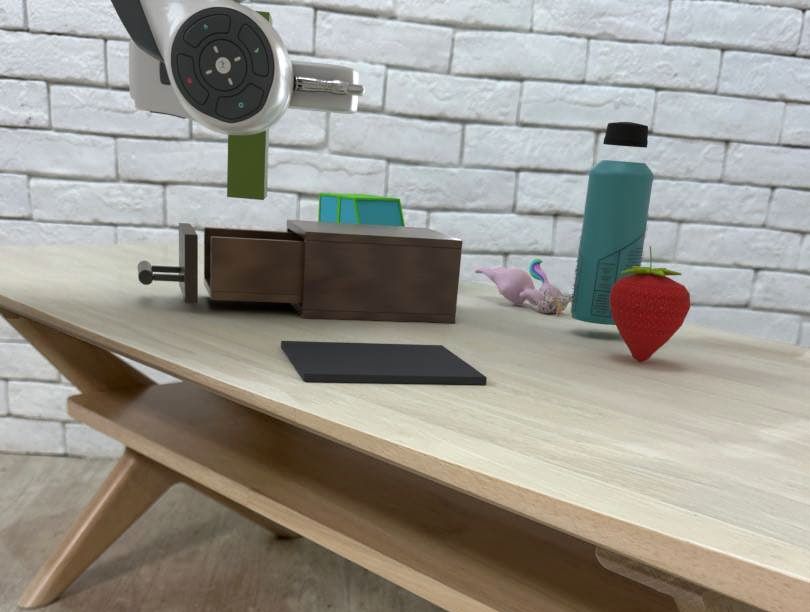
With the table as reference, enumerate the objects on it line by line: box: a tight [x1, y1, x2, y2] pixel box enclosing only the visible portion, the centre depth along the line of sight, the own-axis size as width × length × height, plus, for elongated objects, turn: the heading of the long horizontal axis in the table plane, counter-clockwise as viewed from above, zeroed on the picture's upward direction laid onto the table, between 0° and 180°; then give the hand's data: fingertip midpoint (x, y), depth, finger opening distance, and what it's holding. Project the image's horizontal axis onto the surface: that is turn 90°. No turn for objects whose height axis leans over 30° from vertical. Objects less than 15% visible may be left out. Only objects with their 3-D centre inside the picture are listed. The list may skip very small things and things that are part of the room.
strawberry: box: [609, 245, 691, 362], centre depth 87 cm, size 6×8×10 cm
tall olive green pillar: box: [226, 10, 274, 201], centre depth 95 cm, size 4×6×16 cm, turn 5°
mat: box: [280, 340, 488, 386], centre depth 79 cm, size 14×12×1 cm
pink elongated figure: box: [474, 258, 573, 317], centre depth 115 cm, size 6×6×15 cm
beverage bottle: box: [569, 121, 655, 326], centre depth 98 cm, size 6×7×20 cm
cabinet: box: [285, 219, 464, 324], centre depth 103 cm, size 16×13×8 cm
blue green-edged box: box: [317, 192, 406, 227], centre depth 124 cm, size 10×13×10 cm
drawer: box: [136, 222, 305, 304], centre depth 100 cm, size 19×11×6 cm, turn 105°
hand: (250, 85), depth 95 cm, fingers closed on tall olive green pillar, 3 cm apart
